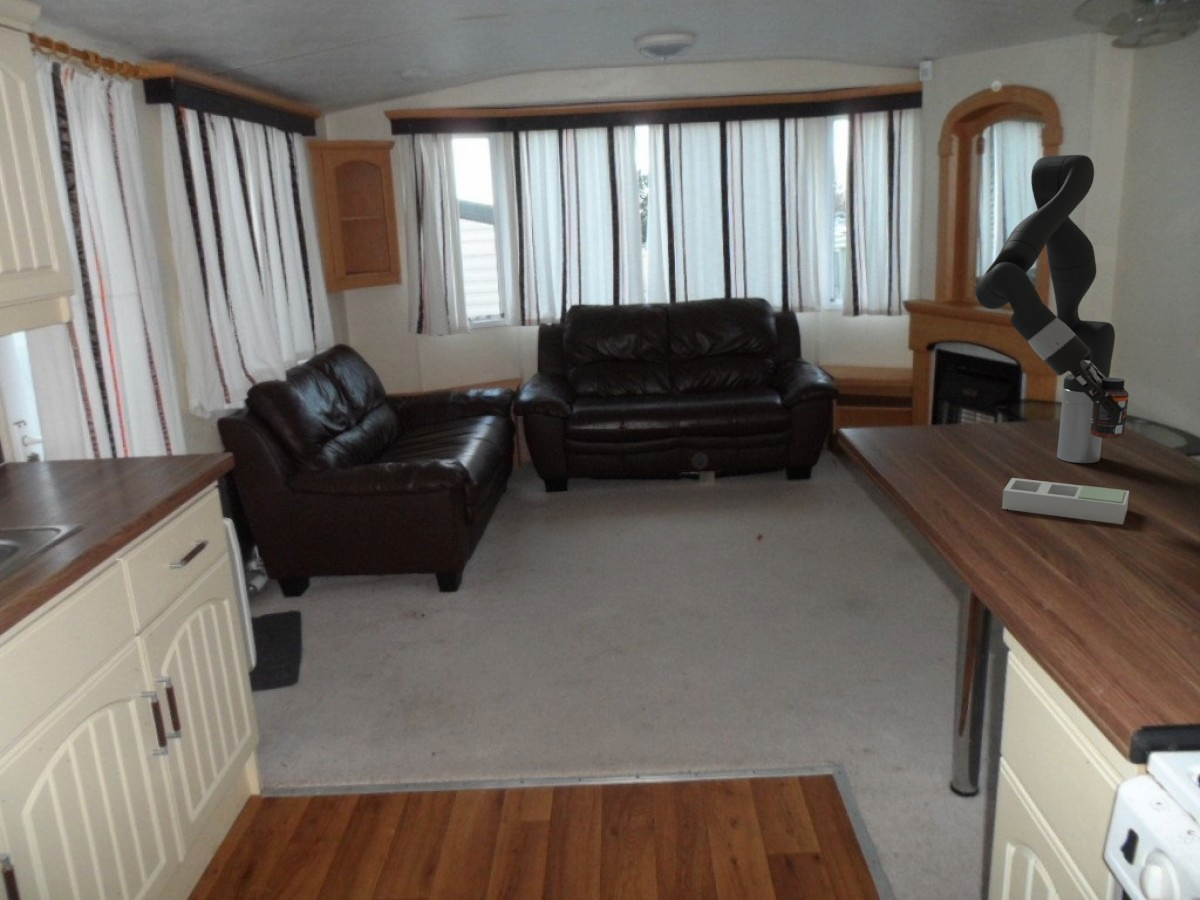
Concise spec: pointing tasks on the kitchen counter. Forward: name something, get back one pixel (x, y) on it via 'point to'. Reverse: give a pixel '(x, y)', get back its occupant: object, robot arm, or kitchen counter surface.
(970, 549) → the kitchen counter surface
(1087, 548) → the kitchen counter surface
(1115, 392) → the supplement bottle
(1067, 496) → the board
